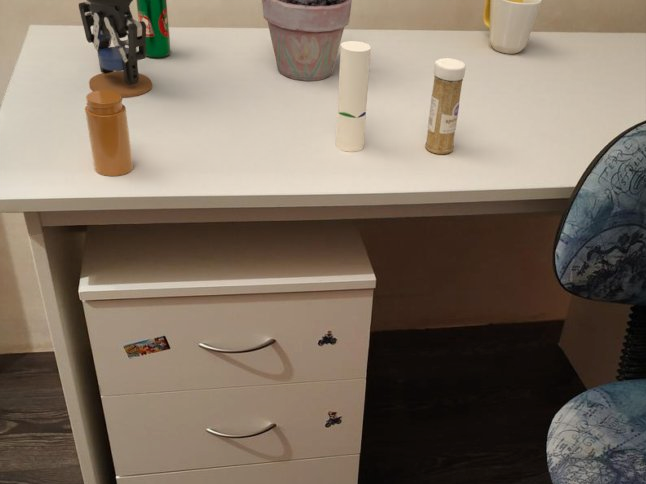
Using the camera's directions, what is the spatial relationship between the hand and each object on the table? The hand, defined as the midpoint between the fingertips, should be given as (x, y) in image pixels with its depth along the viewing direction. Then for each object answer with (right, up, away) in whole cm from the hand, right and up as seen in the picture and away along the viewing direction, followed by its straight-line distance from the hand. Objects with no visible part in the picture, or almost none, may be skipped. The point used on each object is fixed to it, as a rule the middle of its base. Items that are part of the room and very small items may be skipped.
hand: (119, 77), depth 133 cm
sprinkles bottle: (+53, -14, -6) cm, 55 cm away
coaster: (0, -1, +1) cm, 1 cm away
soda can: (+2, +9, +13) cm, 16 cm away
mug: (+68, +20, +34) cm, 79 cm away
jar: (+6, -21, -21) cm, 30 cm away
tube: (+39, -14, -8) cm, 42 cm away
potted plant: (+30, +6, +13) cm, 33 cm away
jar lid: (0, +3, -2) cm, 4 cm away
